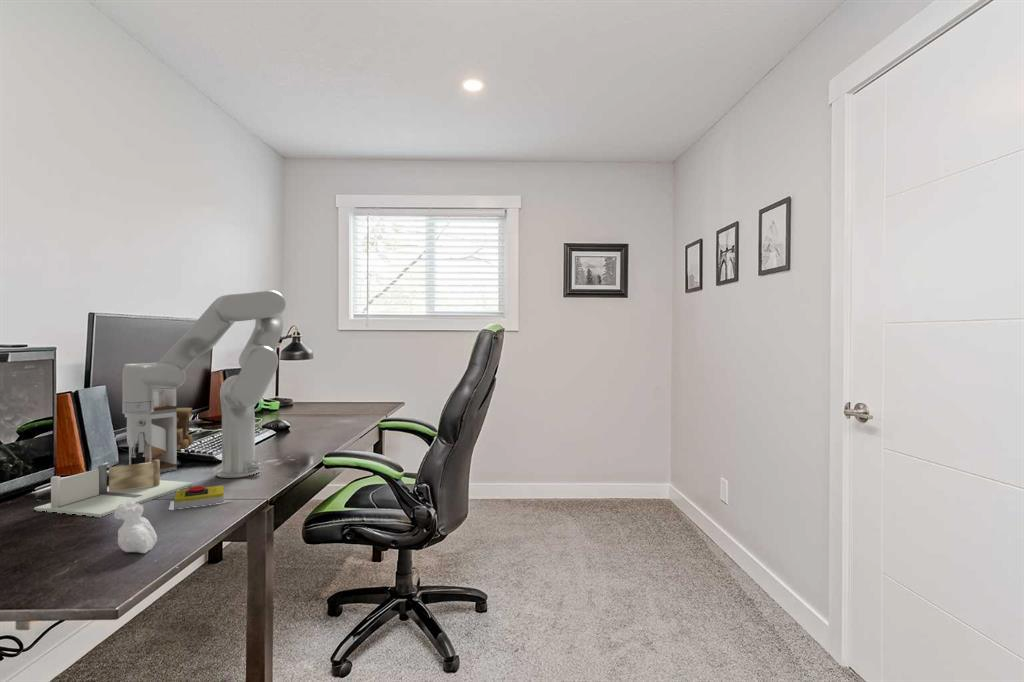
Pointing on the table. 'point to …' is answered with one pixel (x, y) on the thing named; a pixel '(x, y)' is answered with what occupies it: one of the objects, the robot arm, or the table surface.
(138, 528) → the white tied sack
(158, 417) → the white wooden-base stand
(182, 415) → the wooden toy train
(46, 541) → the table surface
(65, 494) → the fixed fence section
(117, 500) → the board
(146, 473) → the wooden panel
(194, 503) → the emergency button
